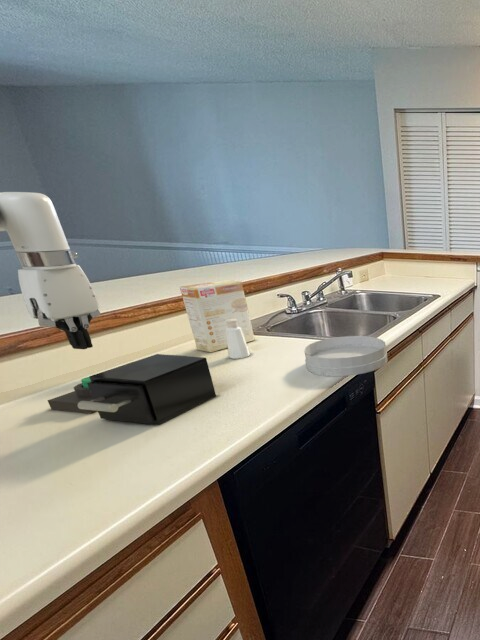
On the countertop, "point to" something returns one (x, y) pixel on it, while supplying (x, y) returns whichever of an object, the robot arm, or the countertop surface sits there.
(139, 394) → the drawer
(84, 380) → the button
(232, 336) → the salt shaker
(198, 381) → the cabinet
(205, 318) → the coffeecake box
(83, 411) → the control block
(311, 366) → the dish
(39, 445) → the countertop surface
